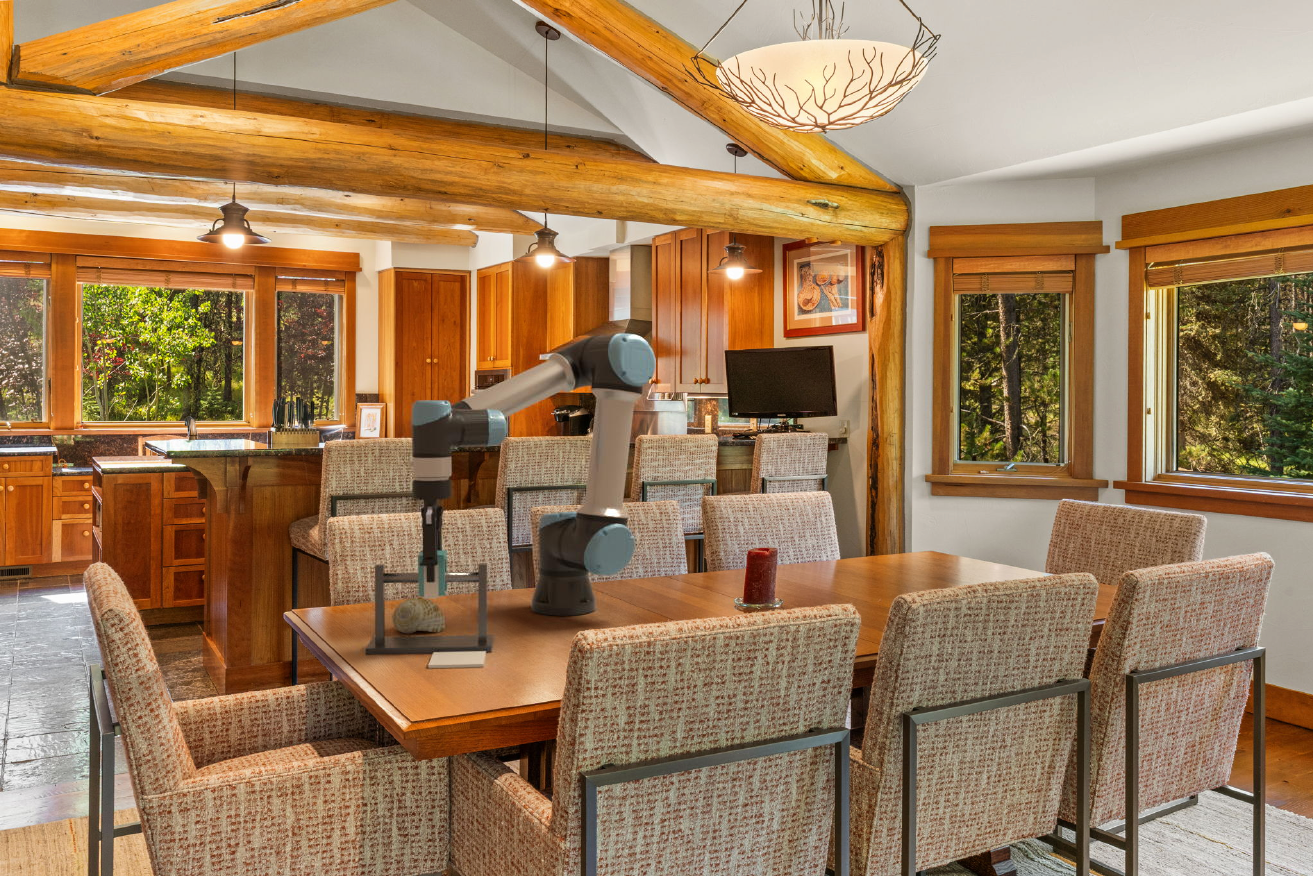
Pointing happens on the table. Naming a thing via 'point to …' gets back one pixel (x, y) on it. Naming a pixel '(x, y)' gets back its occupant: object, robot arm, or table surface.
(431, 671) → the table surface
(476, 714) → the table surface
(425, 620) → the seashell
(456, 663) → the mat
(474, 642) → the stand
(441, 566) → the c link
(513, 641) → the table surface
